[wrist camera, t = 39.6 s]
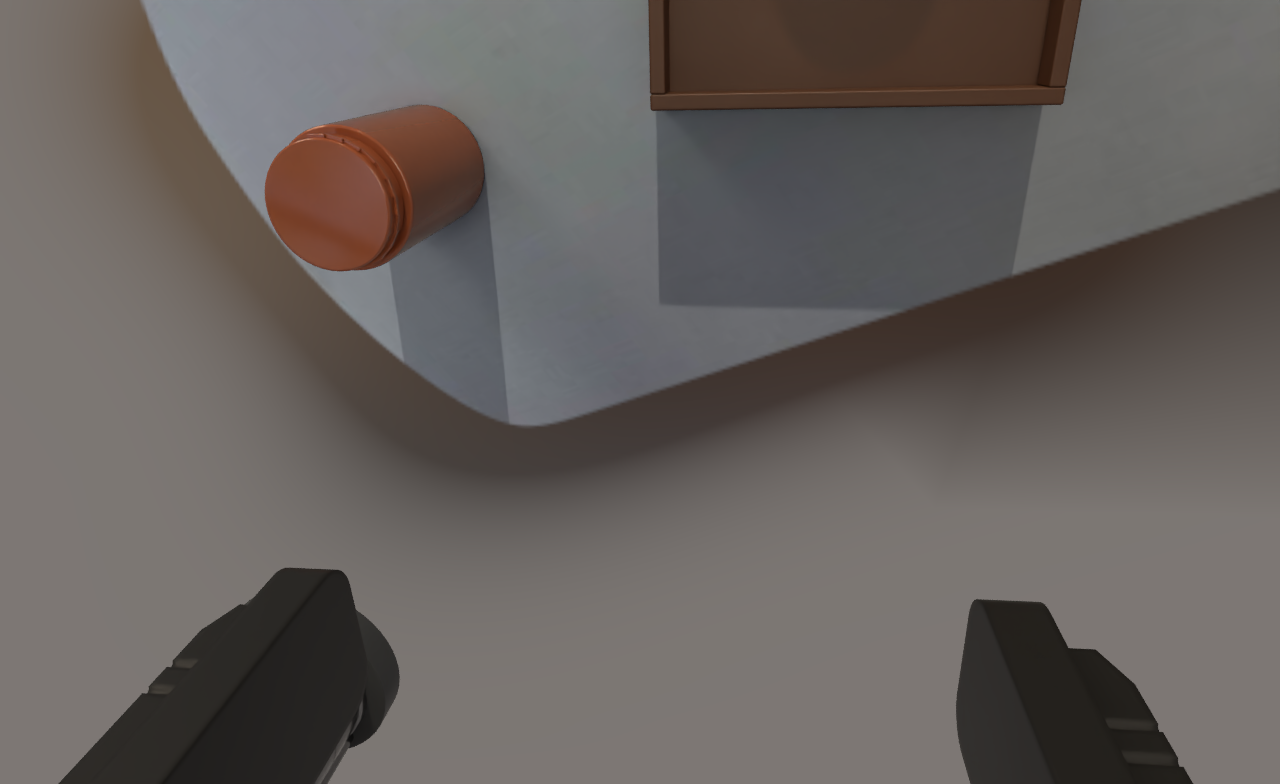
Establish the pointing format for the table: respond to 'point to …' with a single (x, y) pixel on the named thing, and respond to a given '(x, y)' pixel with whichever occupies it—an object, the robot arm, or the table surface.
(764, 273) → the table surface
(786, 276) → the table surface
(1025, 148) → the table surface
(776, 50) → the tray
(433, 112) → the jar
